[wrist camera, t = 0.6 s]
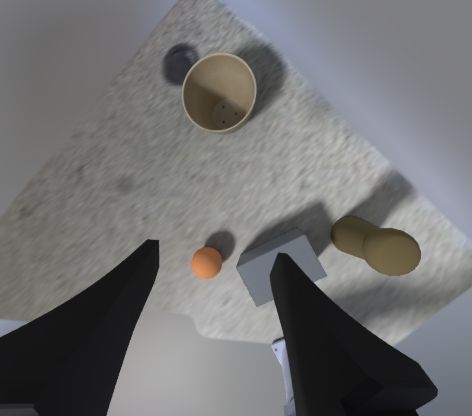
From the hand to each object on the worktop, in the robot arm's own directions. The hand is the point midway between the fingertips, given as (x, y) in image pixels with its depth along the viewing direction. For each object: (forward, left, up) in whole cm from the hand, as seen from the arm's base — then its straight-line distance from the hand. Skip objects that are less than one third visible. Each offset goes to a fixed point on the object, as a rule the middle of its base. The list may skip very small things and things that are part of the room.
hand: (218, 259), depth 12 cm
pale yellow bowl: (+17, -6, -21) cm, 28 cm away
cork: (-10, -14, -21) cm, 27 cm away
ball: (-3, +9, -18) cm, 21 cm away
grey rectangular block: (-8, -2, -21) cm, 23 cm away
